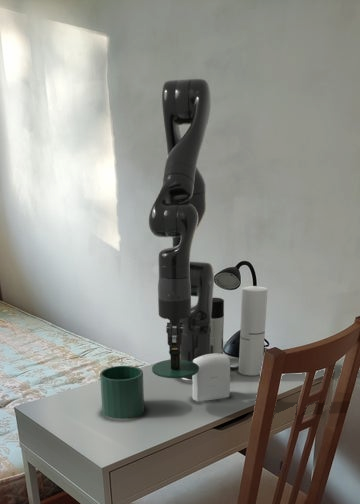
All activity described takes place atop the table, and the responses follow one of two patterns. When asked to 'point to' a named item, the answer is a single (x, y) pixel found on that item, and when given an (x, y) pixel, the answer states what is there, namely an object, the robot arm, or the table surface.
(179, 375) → the lid
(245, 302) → the cylindrical container
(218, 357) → the photo printer
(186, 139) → the robot arm
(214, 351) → the spray can
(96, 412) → the table surface
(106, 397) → the tin
